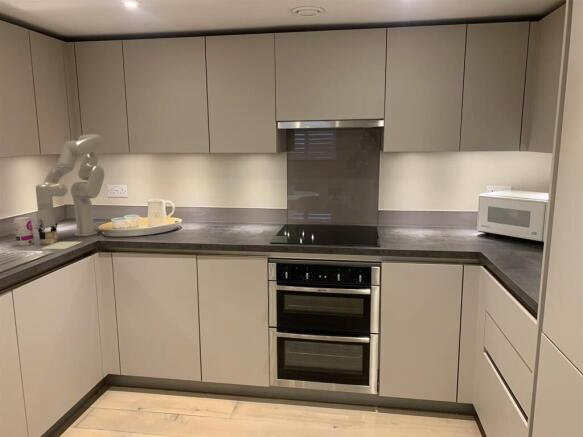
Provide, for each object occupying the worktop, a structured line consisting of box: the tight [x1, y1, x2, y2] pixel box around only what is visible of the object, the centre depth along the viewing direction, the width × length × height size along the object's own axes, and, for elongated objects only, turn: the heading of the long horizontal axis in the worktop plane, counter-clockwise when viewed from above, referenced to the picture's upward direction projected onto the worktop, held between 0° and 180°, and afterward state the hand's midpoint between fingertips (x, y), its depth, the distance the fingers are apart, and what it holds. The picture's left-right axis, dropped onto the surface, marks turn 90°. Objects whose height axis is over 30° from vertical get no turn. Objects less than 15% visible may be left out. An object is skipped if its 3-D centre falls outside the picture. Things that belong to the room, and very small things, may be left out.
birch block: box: [42, 231, 59, 245], centre depth 249 cm, size 5×5×6 cm
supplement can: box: [13, 216, 35, 247], centre depth 245 cm, size 8×8×15 cm
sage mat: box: [40, 241, 83, 250], centre depth 242 cm, size 16×14×1 cm
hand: (48, 237), depth 248 cm, fingers open, 9 cm apart
